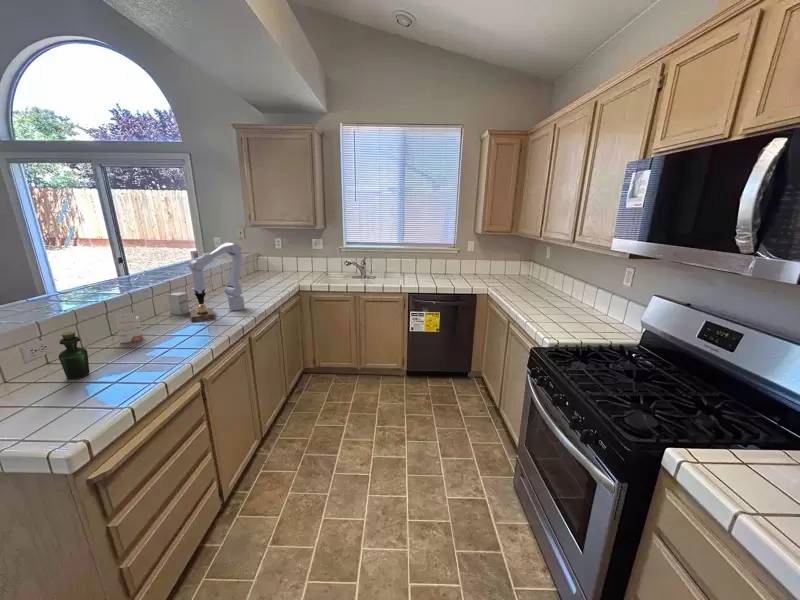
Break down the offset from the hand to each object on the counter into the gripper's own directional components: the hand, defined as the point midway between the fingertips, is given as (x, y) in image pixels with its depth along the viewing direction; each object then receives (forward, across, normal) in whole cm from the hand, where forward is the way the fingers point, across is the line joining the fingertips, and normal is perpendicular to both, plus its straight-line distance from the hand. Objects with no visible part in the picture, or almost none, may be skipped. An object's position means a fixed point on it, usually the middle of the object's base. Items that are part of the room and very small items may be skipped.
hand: (201, 302), depth 201 cm
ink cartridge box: (+10, +25, -32) cm, 42 cm away
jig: (+10, -2, 0) cm, 10 cm away
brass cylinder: (+10, 0, 0) cm, 10 cm away
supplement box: (+10, -17, -12) cm, 23 cm away
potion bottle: (+10, +60, -45) cm, 76 cm away
